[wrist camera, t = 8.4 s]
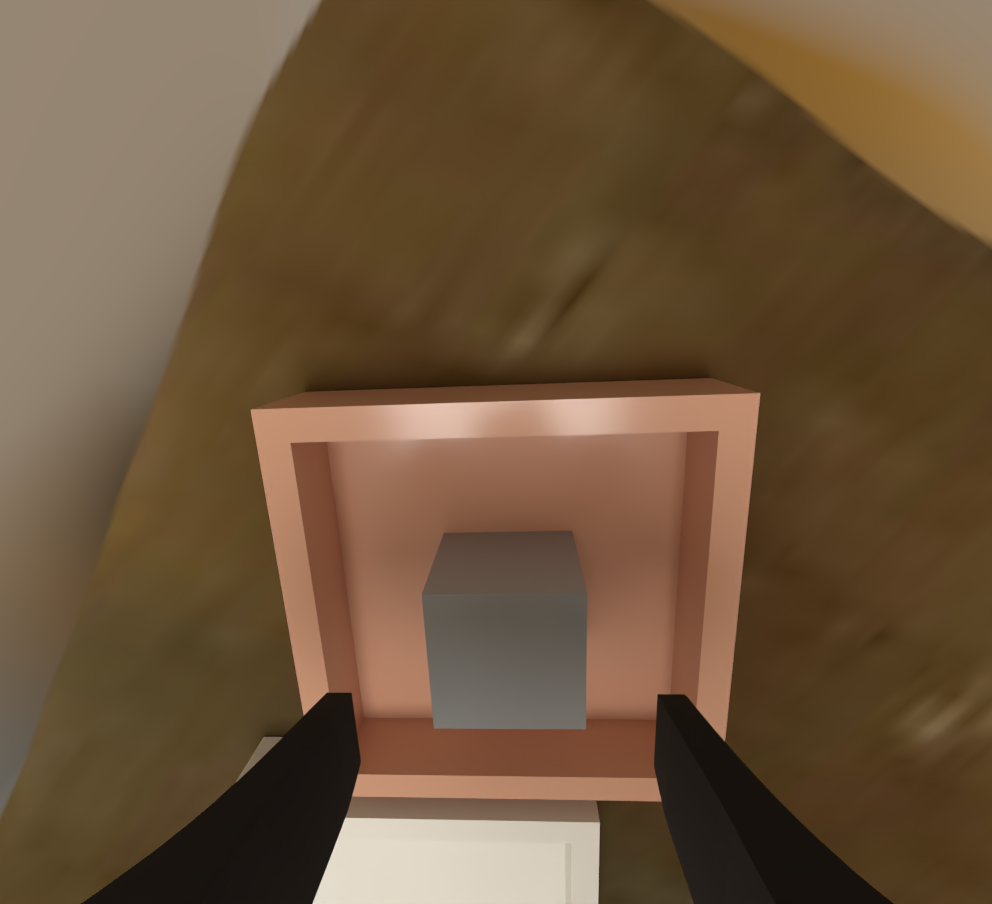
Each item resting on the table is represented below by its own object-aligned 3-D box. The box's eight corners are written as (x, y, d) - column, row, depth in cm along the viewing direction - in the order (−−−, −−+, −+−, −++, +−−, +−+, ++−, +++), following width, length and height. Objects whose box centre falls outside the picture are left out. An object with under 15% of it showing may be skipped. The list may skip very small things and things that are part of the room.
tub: (586, 739, 20) (599, 822, 17) (584, 968, 24) (594, 1074, 21) (263, 736, 21) (215, 815, 18) (308, 958, 25) (275, 1058, 22)
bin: (710, 378, 16) (760, 392, 13) (685, 720, 20) (718, 802, 17) (303, 391, 17) (250, 409, 14) (350, 718, 21) (317, 795, 17)
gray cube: (572, 530, 17) (586, 593, 13) (572, 642, 18) (585, 729, 14) (443, 532, 17) (421, 594, 13) (452, 642, 18) (433, 728, 15)
